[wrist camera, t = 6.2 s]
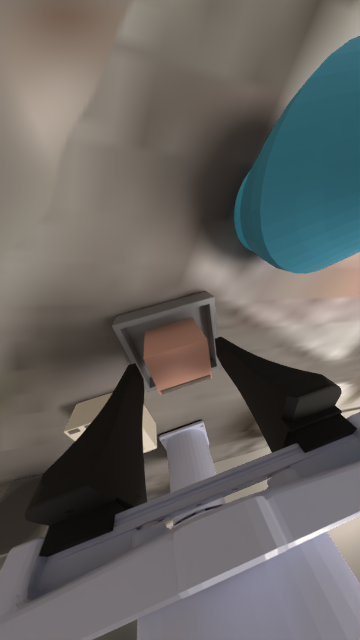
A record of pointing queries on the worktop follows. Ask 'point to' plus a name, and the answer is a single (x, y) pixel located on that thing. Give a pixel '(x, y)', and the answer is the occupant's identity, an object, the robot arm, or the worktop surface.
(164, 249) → the worktop surface
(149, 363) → the stub
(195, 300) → the tray
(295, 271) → the perfume bottle
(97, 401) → the block
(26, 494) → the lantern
